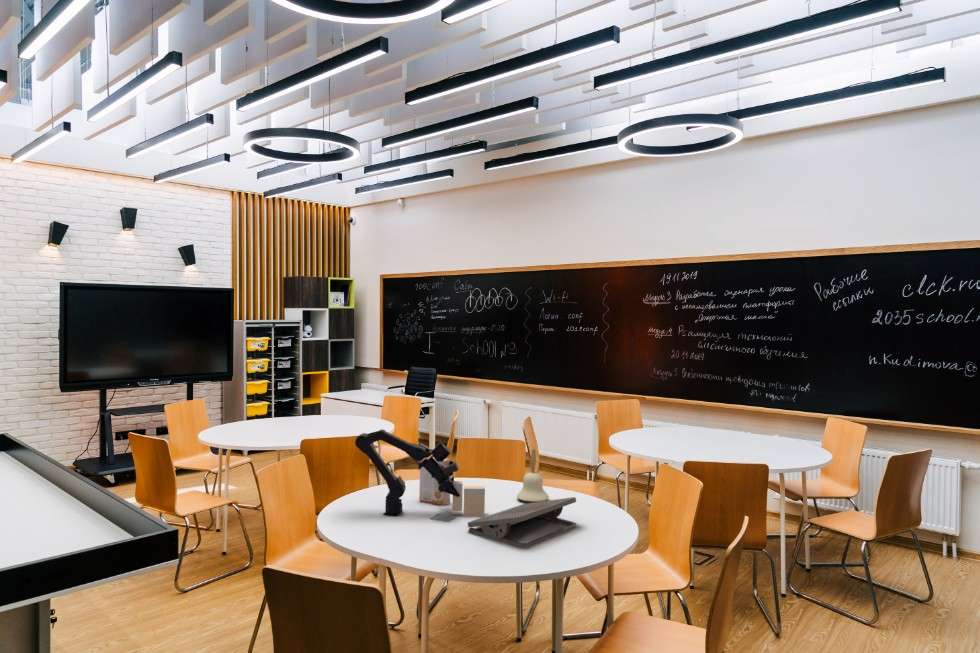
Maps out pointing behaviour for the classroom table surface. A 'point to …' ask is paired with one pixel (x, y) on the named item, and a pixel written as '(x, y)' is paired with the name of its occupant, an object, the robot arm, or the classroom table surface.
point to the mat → (443, 517)
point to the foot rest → (520, 514)
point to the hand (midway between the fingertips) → (459, 494)
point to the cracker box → (432, 487)
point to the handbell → (532, 484)
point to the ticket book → (474, 500)
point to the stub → (457, 500)
